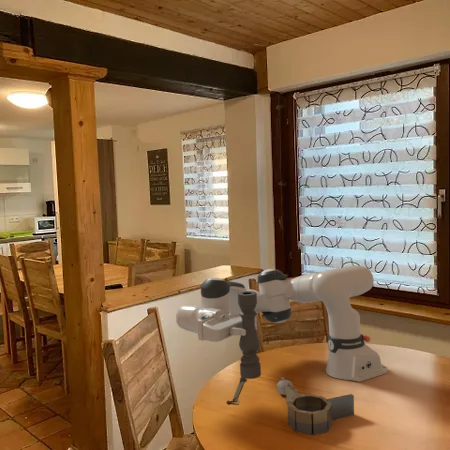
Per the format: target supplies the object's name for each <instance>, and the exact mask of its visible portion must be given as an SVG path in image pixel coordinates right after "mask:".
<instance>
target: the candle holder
mask: <svg viewBox="0 0 450 450" xmlns="http://www.w3.org/2000/svg"><path fill="white" fill-rule="evenodd" d="M256 304H257V293H256V292H253V291H243V292H239V293H238V305H239V307H240V309H241V312H240V313H239V315H240V316H241V318H242V328H244V329H247V335H245V336H242V335H239V341H238V344H239V349H240V351H241V352H242V356H241V357H240V363H239V369H240V371H239V372H240V378H241V377H243V378H246V379H247V380H249V379H250V380H252V379H253V380H254V379H257V378H260V377H261V375H262V371H261V370H262V369H261V368H262V367H261V365H262V364H261V363H260V357H259V356H258V355H257V354H258V351H259V348H260V344H261V343H260V340H259V337H258V333H257V330H256V329H255V316H257V315H258V313H256V312H255V311H254V310H255V307H256ZM246 379H245V380H246Z"/></svg>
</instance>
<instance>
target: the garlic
mask: <svg viewBox="0 0 450 450" xmlns="http://www.w3.org/2000/svg"><path fill="white" fill-rule="evenodd" d="M280 379H281V380H279V381H278V382H277V385H276V388H277V392H278V394H281V395H282V396H286V385H288V384H290V385H291V386H292V387H293V388H294V385H293V382H291V381H290V380H288V379H285V377H280Z"/></svg>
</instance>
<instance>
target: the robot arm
mask: <svg viewBox="0 0 450 450" xmlns="http://www.w3.org/2000/svg"><path fill="white" fill-rule="evenodd" d="M286 277H287V278H286ZM374 282H375V281H374V275H373V273H372V271H371V270H370V269H369V268H368V267H366V266H362V265H348V266H343V267H337V268H331V269H326V270H324V271H317V272H313V273H312V272H311V273H307V274H301V275H300V276H296V277H295V278H292V279H288V274H285V273H283V272H282V271H281V270H279V269H275V268H268V269H265V270H263V271H261V272H260V273H258V275H257V284H258V291H257V290H256V289H249V288H248V289H247V288H246V287H245V285H244V284H242V283H241V282H236V281H231V280H226V279H223V278H221V277H209V278H206V279H205V280H204V281H203V282H202V283H201V284H200V296H201V297H200V305H197V304H196V305H194V304H183V305H180V306H179V307H178V308H177V311H176V317H175V322H176V325H177V326H178V327H179V328H180V329H183V330H185V331H188V332H191V333H193V334H194V333H195V334H197V338H198V339H197V340H199V341H203V342H204V341H207V342H213V343H217V342H218V343H219V342H221V341H224V340H226V339H229V338H230V337H233V336H241V335H242V336H245V335H247V329H244V328H242V318H241V316H240V315H239V313H240V312H241V309H240V307H239V305H238V293H239V292H243V291H253V292H256V293H257V304H256V307H255V310H254V311H255V312H256V313H257V314H258V313H261V315H260V316H261V317H262V318H265V319H266V321H267V322H270V323H276V324H279V323H284V322H285V321H287V320H290V318H291V316H292V308H291V304H290V303H291V302H290V300H291V301H292V302H297V303H307V304H308V303H316V302H322V303H323V304H324V306H325V308H326V311H327V316H328V331H329V332H328V335H327V345H328V347H327V348H328V357H327V364H326V367H325V373H326V374H327V375H328V376H330V377H331V378H336V379H339V380H345V381H346V380H347V381H354V382H357V383H358V382H363V381H367V380H369V379H372V378H373V379H374V378H375V377H379V376H381V375H385V374H388V373H389V369H388V367H387V366H386V365H384V364H383V363H382V361H381V357H380V354H378V352H377V351H376V350H374V349H373V348H371V347H370V346H369V345H367V344H366V343H370V341H371V337H370V336H368V335H367V334H365V335H363V334H362V333H361V315H360V314H359V311H357V310H356V309H354V307H352V305H351V301H350V299H351V298H352V297H357V296H361V295H363V294H365V293H366V292H368V291H370V290H371V289H372V288H373V286H374ZM255 329H256V331H257V330H258V316H257V315H256V316H255ZM365 342H366V343H365Z"/></svg>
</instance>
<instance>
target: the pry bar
mask: <svg viewBox="0 0 450 450" xmlns="http://www.w3.org/2000/svg"><path fill="white" fill-rule="evenodd" d="M245 380H246V378H243V377H241V376H240V378H239V382H238V385H237V387H236V390H235V392H234V396H233V398H232V400H226V404H227V405H234V406H238V405H240V404H239V403H238V401H239V399H238V397H239V395H240V392H241V390H242V388H243V386H244V383H245Z"/></svg>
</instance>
